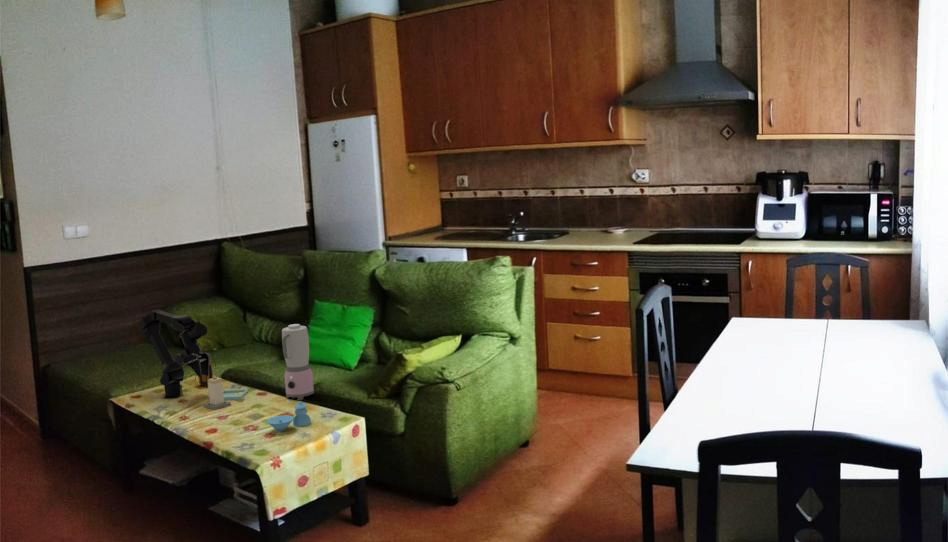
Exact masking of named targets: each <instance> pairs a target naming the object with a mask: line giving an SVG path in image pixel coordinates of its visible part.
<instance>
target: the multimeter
mask: <svg viewBox="0 0 948 542" xmlns="http://www.w3.org/2000/svg"><path fill="white" fill-rule="evenodd" d="M205 347H207V348H208V350H209V351H210V353H211V356H212V357H213V362H214V366H215V368H217V365H216V364H217V363H216V361H215V357H214V355H213V352H212V350H211V349H210V347H209V346H207V345H204V346H203V347H202V346H201V345H200V349H202V350H201V352H203V353H205ZM212 365H213V364H212V359H211V358H210V364H209V375H208V376H206V375H205V374H204V372H203V370H202V368H201V376H200V377H198V376H197V374H196V373H195V378H194V380H197V377H198V383H199V384H198V386H200V385H207V386H208V379H212V378H214V375H213V367H212ZM207 386H206V387H207Z"/></svg>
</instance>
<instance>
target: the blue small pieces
mask: <svg viewBox="0 0 948 542" xmlns="http://www.w3.org/2000/svg"><path fill="white" fill-rule="evenodd" d="M294 409H295V410H294V414H295V416H293V415H288V414H287V415H286V414H285V415H283V414H282V415H276V416H273V417H270V418H268V419H266V423H267V424H269V426H271V427H272V428H274V429H275V430H277V432H284V431H286V429H287V428H288V427H289V425H291V423H292V425H293V426H294V427H297V428H298V427H300V428H302V427H307V426H309V425H311V423H312V422H311V417H310V415H308V409H307V404H305V403H303V401H302V400H299V401H298V403H297V404H296V405H294Z"/></svg>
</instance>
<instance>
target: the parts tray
mask: <svg viewBox="0 0 948 542" xmlns="http://www.w3.org/2000/svg"><path fill="white" fill-rule="evenodd" d="M239 392H243V393H242V394H241V395H239V396H238V394H237V395H236V394H235V393H239ZM247 392H248V393H249V388H246V389H223V396H224V401H240V400H243V399H244V398H245V396H246V395H247V394H248V393H247ZM246 393H247V394H246ZM245 394H246V395H245Z"/></svg>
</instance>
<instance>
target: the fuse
mask: <svg viewBox="0 0 948 542" xmlns="http://www.w3.org/2000/svg"><path fill="white" fill-rule="evenodd" d="M222 381H223V379H222V378H221V377H218V376H214V377H213V378H212V379H208V387H207V388H208V389H207V390H208V394H209V395H208V397H209V403H210V405H212V406H218V405H221V404H224V396H223V390H224V386H223V382H222Z"/></svg>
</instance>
